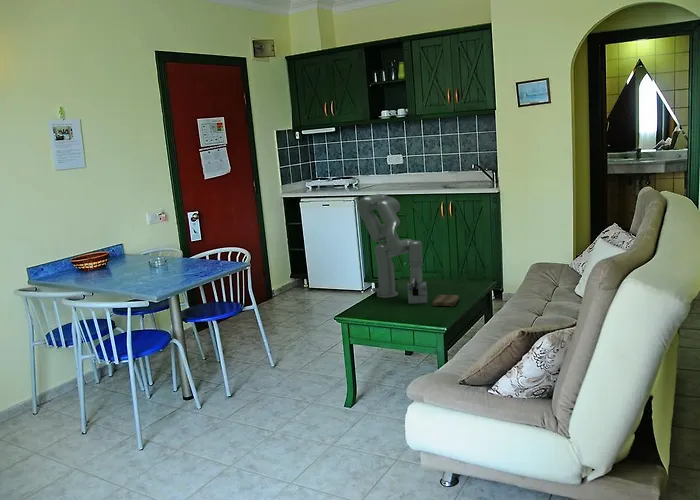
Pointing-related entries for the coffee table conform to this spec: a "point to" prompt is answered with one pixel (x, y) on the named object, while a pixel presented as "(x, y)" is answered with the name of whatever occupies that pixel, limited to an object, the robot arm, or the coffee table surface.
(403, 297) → the coffee table surface
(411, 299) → the light bulb box
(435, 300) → the walnut stand
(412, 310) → the coffee table surface
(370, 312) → the coffee table surface
